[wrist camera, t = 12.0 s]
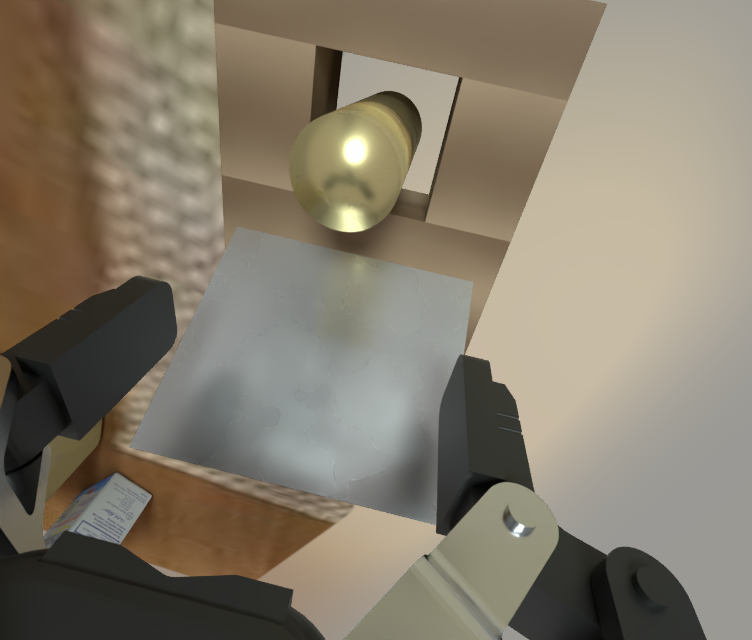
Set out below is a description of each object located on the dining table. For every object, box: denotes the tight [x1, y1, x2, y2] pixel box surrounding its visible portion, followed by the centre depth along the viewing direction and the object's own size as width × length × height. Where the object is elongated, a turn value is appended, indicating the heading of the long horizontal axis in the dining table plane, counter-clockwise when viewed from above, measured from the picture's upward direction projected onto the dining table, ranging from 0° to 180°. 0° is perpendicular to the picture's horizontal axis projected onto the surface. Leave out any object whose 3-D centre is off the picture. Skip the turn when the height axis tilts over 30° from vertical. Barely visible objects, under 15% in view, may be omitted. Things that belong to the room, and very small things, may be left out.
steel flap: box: [129, 227, 474, 525], centre depth 14 cm, size 9×10×1 cm
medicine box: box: [43, 472, 152, 548], centre depth 36 cm, size 8×4×9 cm, turn 128°
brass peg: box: [289, 91, 422, 232], centre depth 14 cm, size 3×3×9 cm
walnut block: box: [214, 0, 607, 355], centre depth 19 cm, size 20×12×4 cm, turn 170°
